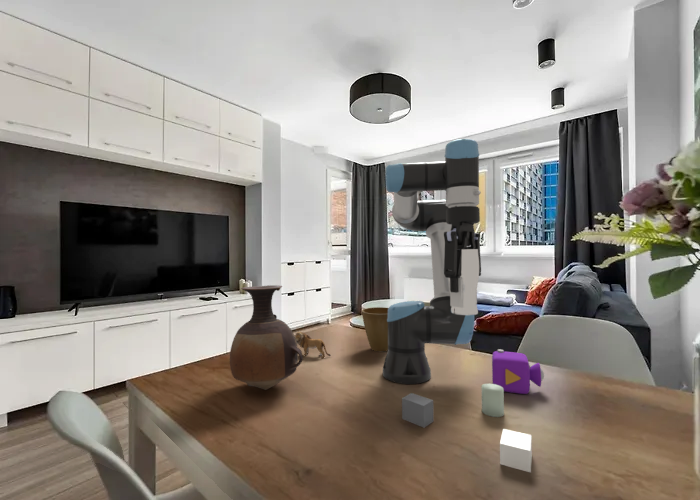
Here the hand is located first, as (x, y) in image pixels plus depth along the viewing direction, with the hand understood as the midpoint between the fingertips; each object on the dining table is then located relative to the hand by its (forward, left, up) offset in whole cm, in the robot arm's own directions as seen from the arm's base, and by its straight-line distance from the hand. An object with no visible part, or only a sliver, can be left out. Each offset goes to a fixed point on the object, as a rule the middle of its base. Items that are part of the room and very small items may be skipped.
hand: (464, 304), depth 80 cm
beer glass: (0, 0, -2) cm, 2 cm away
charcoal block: (-8, -8, -27) cm, 29 cm away
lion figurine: (-66, +6, -27) cm, 72 cm away
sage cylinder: (+3, +8, -27) cm, 28 cm away
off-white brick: (+14, -8, -27) cm, 32 cm away
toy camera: (+2, +27, -27) cm, 38 cm away
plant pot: (-52, +31, -27) cm, 66 cm away
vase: (-51, -23, -27) cm, 62 cm away
